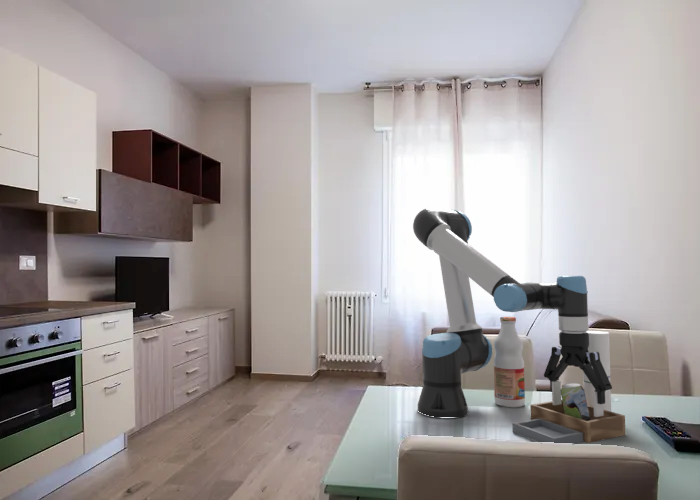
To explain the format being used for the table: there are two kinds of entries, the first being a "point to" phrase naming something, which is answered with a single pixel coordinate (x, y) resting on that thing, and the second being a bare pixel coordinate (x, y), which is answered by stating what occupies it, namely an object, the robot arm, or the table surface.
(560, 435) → the tray
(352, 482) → the table surface
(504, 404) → the fruit juice
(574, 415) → the beverage can
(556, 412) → the crate
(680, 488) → the table surface
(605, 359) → the cylindrical container
